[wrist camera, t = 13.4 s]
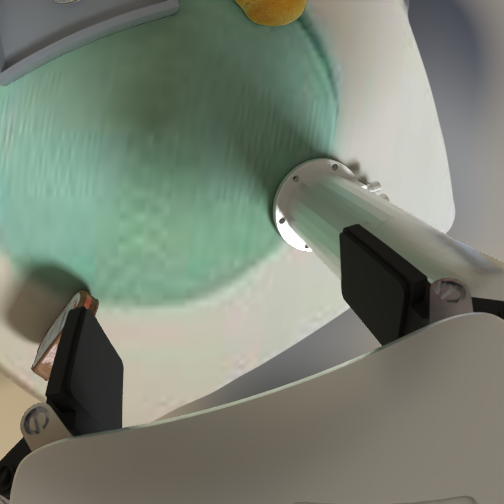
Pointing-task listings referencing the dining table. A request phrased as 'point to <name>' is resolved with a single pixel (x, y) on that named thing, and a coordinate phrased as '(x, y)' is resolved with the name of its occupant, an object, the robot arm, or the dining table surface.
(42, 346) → the tin
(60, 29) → the tray
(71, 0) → the supplement bottle
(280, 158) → the dining table surface
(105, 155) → the dining table surface
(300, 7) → the bread roll
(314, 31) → the dining table surface
